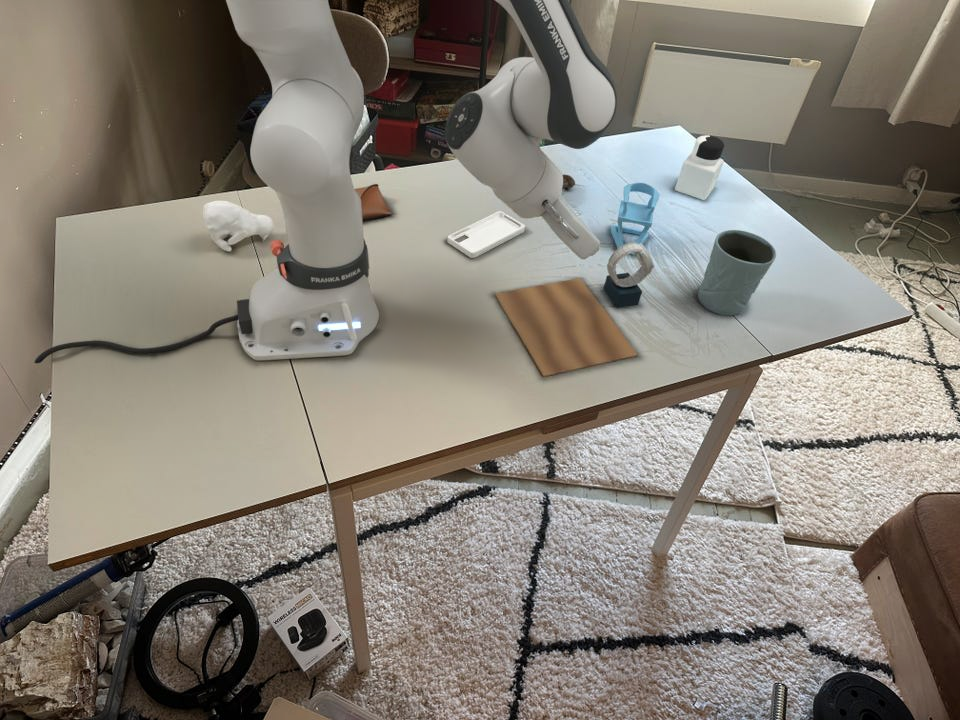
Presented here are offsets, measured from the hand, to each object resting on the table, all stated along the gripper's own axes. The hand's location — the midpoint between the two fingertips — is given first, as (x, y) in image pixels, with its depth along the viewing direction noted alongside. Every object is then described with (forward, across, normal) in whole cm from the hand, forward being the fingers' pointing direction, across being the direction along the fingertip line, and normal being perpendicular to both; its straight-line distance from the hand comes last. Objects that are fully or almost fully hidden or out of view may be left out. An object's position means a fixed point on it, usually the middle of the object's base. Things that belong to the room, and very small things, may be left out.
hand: (580, 233), depth 102 cm
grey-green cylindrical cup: (+32, -6, -9) cm, 34 cm away
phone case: (+7, +24, +15) cm, 29 cm away
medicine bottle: (+45, +30, -22) cm, 58 cm away
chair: (+26, +15, -4) cm, 30 cm away
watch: (+19, 0, +3) cm, 19 cm away
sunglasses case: (-11, +38, +32) cm, 51 cm away
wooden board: (+9, -4, +12) cm, 16 cm away
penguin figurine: (-25, +34, +46) cm, 63 cm away
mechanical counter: (+20, +36, +2) cm, 41 cm away
